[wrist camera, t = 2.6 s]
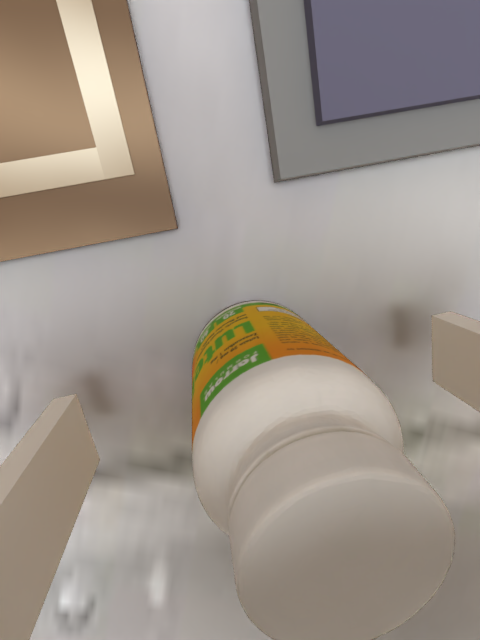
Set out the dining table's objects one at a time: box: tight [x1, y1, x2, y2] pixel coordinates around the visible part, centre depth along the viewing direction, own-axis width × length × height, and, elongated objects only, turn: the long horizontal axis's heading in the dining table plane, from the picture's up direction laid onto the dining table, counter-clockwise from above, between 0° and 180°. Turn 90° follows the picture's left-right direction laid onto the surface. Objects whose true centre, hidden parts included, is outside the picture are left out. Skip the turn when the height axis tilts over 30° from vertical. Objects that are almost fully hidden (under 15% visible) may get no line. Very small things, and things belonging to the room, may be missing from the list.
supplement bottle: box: [192, 301, 455, 640], centre depth 11 cm, size 5×5×10 cm
